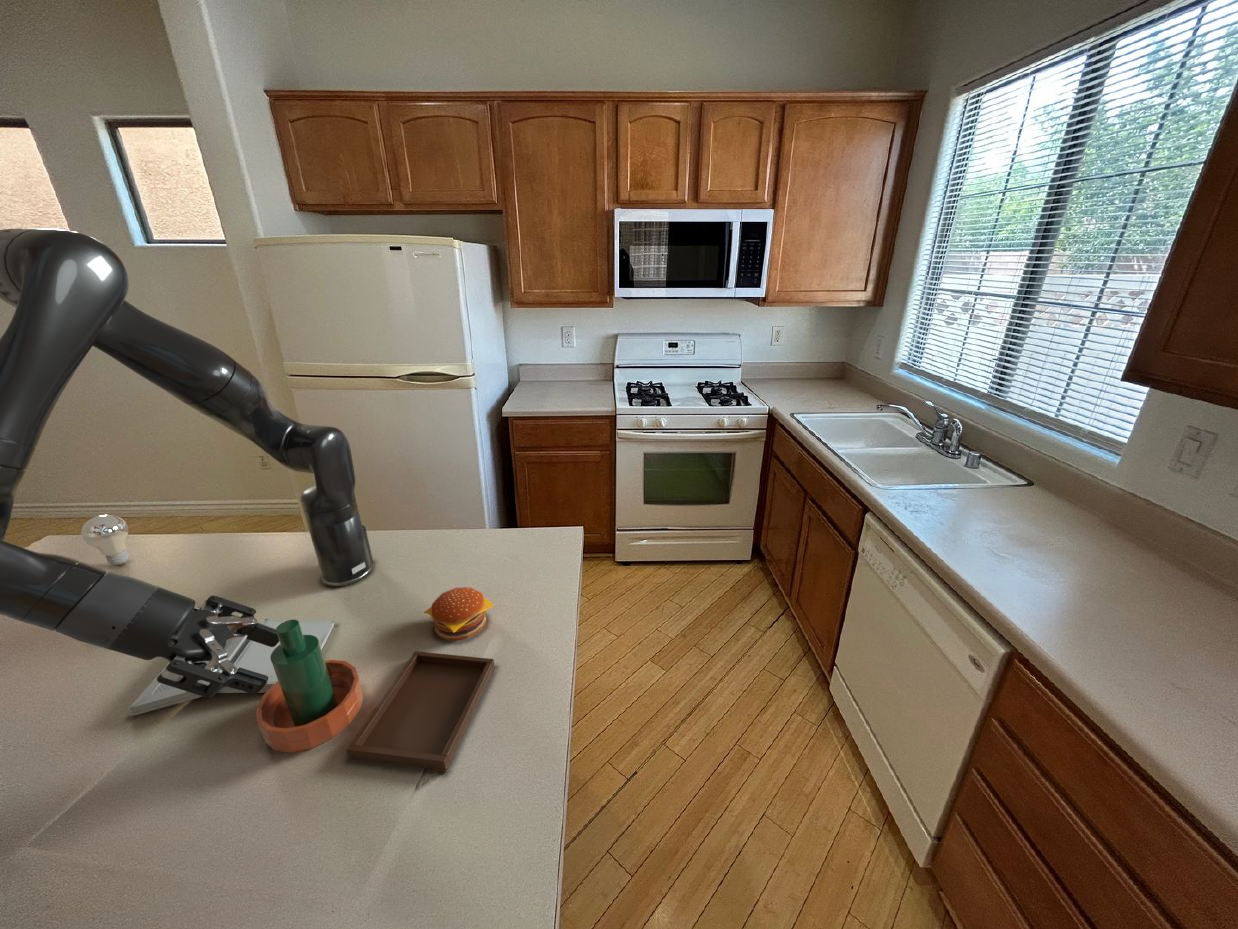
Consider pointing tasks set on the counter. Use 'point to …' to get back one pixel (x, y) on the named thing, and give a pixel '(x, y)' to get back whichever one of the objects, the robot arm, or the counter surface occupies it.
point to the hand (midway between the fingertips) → (272, 661)
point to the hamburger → (459, 613)
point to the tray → (424, 711)
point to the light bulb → (107, 537)
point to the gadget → (241, 656)
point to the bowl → (293, 739)
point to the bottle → (302, 674)
